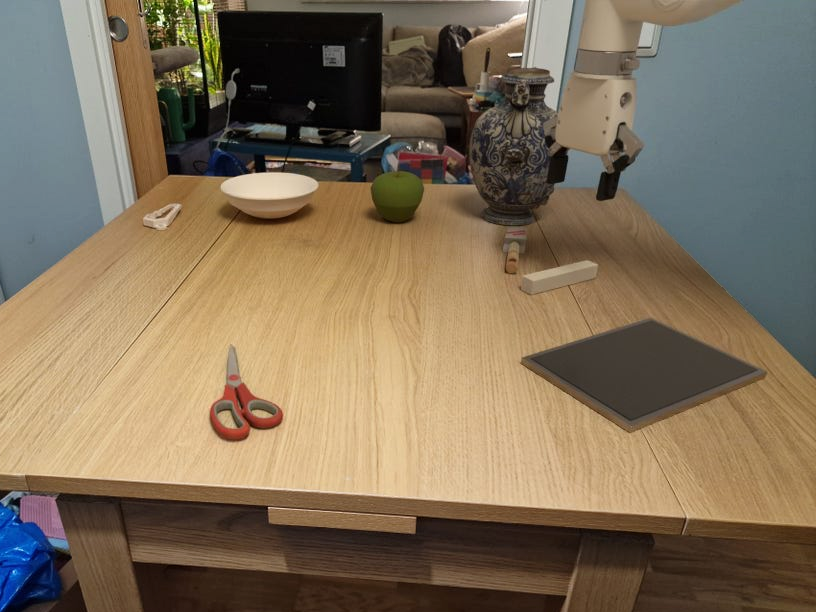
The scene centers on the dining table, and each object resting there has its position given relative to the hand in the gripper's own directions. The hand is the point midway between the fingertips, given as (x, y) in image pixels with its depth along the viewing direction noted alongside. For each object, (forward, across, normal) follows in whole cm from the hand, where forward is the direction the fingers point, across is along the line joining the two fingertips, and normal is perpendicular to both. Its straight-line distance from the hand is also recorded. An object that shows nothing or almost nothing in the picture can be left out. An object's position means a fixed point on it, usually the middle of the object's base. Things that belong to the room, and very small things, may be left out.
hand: (579, 190), depth 98 cm
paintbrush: (+16, +15, -3) cm, 22 cm away
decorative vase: (+16, +31, -16) cm, 38 cm away
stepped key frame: (+16, +63, +46) cm, 80 cm away
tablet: (+15, -24, +11) cm, 30 cm away
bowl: (+16, +56, +26) cm, 63 cm away
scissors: (+16, -4, +57) cm, 60 cm away
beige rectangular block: (+15, +1, 0) cm, 15 cm away
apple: (+16, +41, +5) cm, 44 cm away
